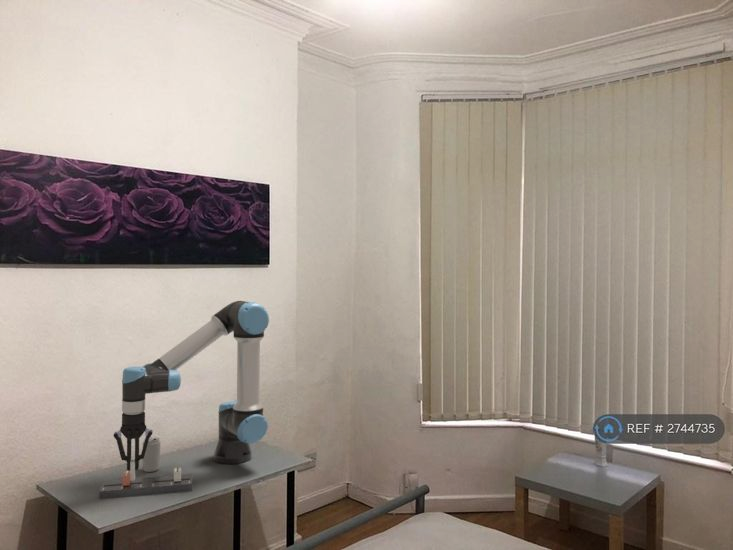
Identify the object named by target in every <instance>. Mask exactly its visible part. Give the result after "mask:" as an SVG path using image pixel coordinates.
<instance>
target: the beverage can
mask: <svg viewBox="0 0 733 550" xmlns="http://www.w3.org/2000/svg"><path fill="white" fill-rule="evenodd" d="M144 442H145V438H144V439H143V441H142V446H143V445H144ZM159 469H161V440H160V437H157V436H150V438H149V441H148V445H147V448H146V452H145V456H144V458H143V459H142V470H143V471H144V472H145V473H153V472H157V471H159Z"/></svg>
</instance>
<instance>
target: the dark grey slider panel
mask: <svg viewBox="0 0 733 550" xmlns="http://www.w3.org/2000/svg"><path fill="white" fill-rule="evenodd" d="M181 492H182V493H183V492H185V493H186V492H193V473H188V474H187V473H186V474H181V481H176V482H174V474H173V475H172V474H171V475H161V476H149V477H147V476H146V477H135V480H133V481H131V483H130V485H126V486H123V478H122V479H110V480H109V479H108V480H103V481H102V484H101V486H100V489H99V493H98V494H99V495H98V497H99V500H100V499H113V498H126V497H135V496H136V497H139V496H149V495H150V496H151V495H160V494H172V493H181Z"/></svg>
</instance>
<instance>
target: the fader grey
mask: <svg viewBox="0 0 733 550" xmlns="http://www.w3.org/2000/svg"><path fill="white" fill-rule="evenodd" d="M173 475H174V482H176V481H181V475H182V467H178V466H177V467H174V468H173Z"/></svg>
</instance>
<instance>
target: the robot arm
mask: <svg viewBox="0 0 733 550" xmlns="http://www.w3.org/2000/svg"><path fill="white" fill-rule="evenodd" d="M269 317H270V316H269V313H268V311H267V310H266V308H265V307H264V306H263V305H261V304H259V303H256V302H253V301H245V300H236V301H234V302H233V301H232V302H230V303H229V304H227V305H225V306H224V307H222V308H221V309H220V310H219V311H217V312H216V313H215V314H213V315H212V316H211V319H210V320H209V321H208V322H207V323H205V324H204V325H203V326H201V327H200V328H198V329H197V330H196V331H194V332H193V333H191V334H190V335H189V336H188V337H186V338H185V339H183V340H182V341H181V342H179V343H178V344H177V345H175V346H174V347H173V348H171V349H169V350H168V351H167V352H166V353H164V354H162V355H161V356H160V357H159V358H157V359H156V360H154V361H153V362H151V363H146V364H143V366H129V367H126V368H124V369H123V370H122V380H121V385H122V388H121V391H122V394H121V395H122V398H121V412H122V414H121V426H120V429H119V430H118V431H114V432H113V438H114V439H115V440H116V444H117V448H118V451H119V454H120V459H121V460H122V461H124V462H126V470H127V471H130V481H133V480H135V478H136V471H138V470H139V468H140V460H143V458H144V456H145V452H146V448H147V445H148V441H149V438H150V437H152V435H153V433H154V431H153V430H152V429H149V428H148V427H147V425H146V412H145V411H146V394H147V395H148V394H159V393H166V392H175V391H178V390H179V389H180V387H181V382H182V377H181V373H180V371H179V370H178V369H179V368H181V367H182V366H184V365H185V364H186V363H187V362H189V361H190V360H192V359H194V357H196V356H197V355H198V354H199V353H201V352H202V351H204V350H205V349H206V348H208V347H209V346H211V345H212V344H213V343H214V342H216V341H218V340H219V339H220V338H221V337H222V336H228V335H229V334H230V333H232V332H233V338H234V339H235V340H236V342H237V346H236V347H237V350H236V351H237V352H236V353H237V354H236V356H237V357H236V358H237V359H236V363H237V364H236V372H237V373H236V376H237V377H236V400H232V401H225V402H222V403H220V404H219V405H218V440H217V443H216V446H215V449H214V453H213V460H214V462H216V463H219V464H226V465H236V464H242V463H245V462H248V461H249V460H251V459H252V457H253V454H252V453H253V452H252V448H251V444H255V443H256V444H257V443H258V442H260V441H261V440H262V439H263V437H265V435H267V431H268V427H269V425H268V421H267V419H266V418H265V417H266V416H264V406H263V404H262V403H261V402H260V366H261V364H260V363H261V360H260V359H261V355H260V353H261V352H260V351H261V340H263V338H264V337H265V331H266V329H267V328H268V326H269V323H270V318H269ZM143 434H144V435H145V438H144V439H145V442H144V441H143V442H144V445H143V444H142V449H141V453H140V438H141V437H142V436H143ZM122 435H123V437H124V438H126V451H125V448H124V444H123V441H122V440H123V439H122ZM133 439H134V458H133V459H132V440H133ZM127 471H126V472H127Z"/></svg>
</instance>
